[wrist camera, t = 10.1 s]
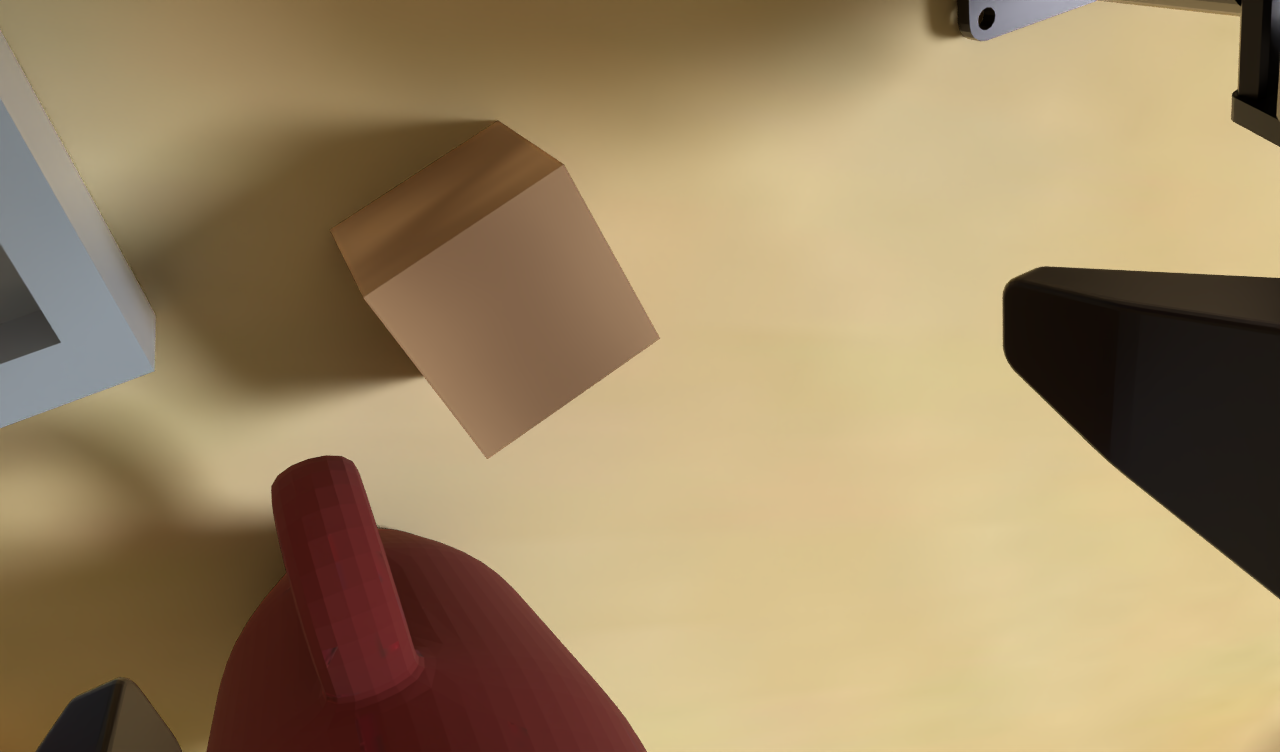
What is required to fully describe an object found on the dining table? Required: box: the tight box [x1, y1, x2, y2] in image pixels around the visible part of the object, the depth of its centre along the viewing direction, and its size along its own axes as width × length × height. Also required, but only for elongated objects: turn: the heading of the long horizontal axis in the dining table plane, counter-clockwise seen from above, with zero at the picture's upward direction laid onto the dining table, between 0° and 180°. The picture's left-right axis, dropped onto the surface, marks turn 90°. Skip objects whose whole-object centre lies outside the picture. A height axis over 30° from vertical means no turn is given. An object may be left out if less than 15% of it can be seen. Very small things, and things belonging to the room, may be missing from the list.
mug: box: [207, 456, 647, 752], centre depth 18 cm, size 11×8×10 cm
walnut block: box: [330, 121, 660, 459], centre depth 19 cm, size 4×4×4 cm
